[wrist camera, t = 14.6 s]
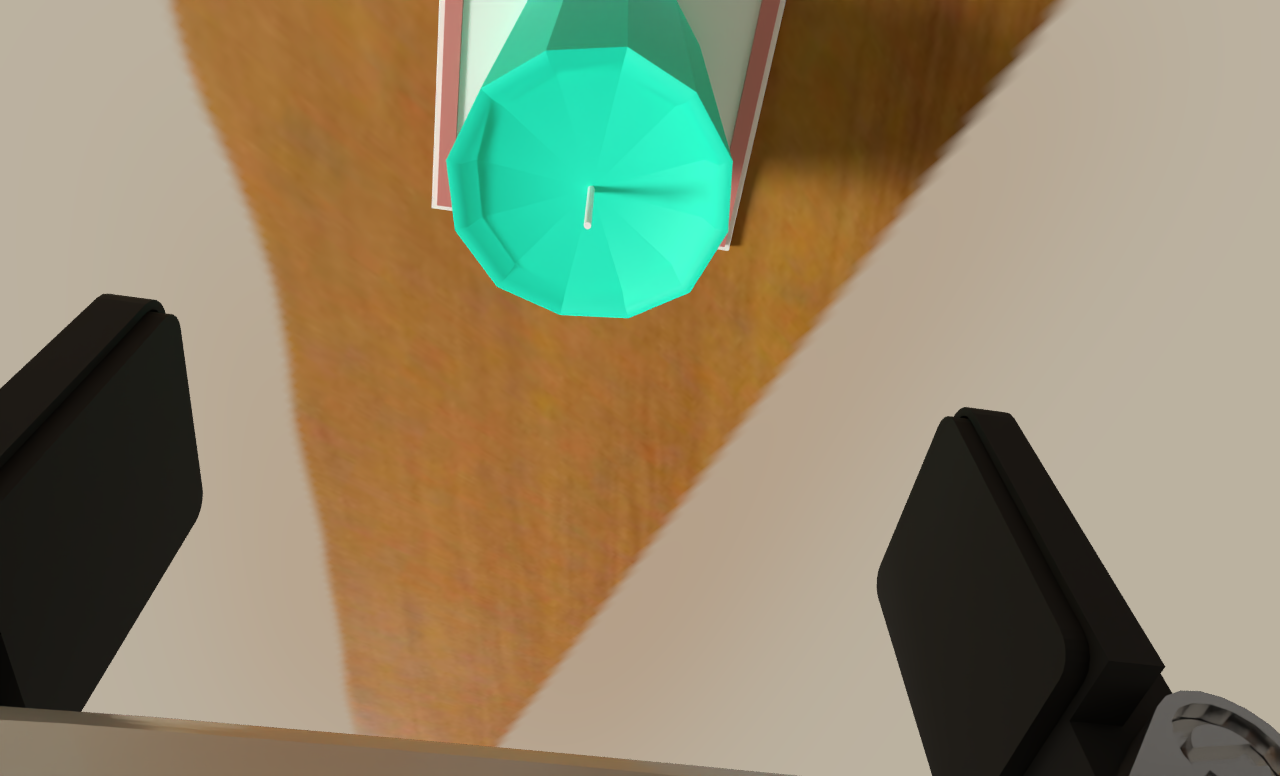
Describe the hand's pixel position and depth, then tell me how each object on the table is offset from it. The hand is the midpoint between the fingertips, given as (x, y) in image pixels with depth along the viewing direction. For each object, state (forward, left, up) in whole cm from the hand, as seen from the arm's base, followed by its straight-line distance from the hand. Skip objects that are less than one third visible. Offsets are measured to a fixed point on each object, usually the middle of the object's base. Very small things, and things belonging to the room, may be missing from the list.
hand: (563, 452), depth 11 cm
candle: (0, 0, -20) cm, 20 cm away
